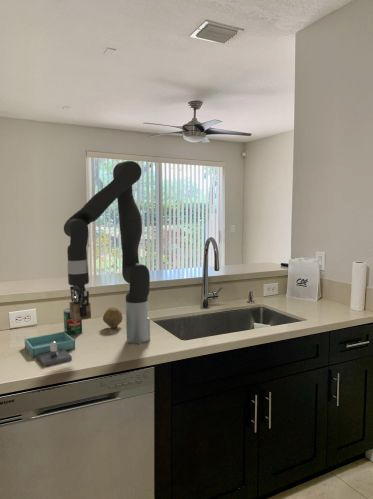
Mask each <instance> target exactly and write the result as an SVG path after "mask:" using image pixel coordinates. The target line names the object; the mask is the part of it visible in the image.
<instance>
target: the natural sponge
mask: <svg viewBox="0 0 373 499" xmlns="http://www.w3.org/2000/svg"><path fill="white" fill-rule="evenodd" d="M102 320H103V322H104V323H105V324H106V325H108V327H110V328H111V329H115V328H117V327H118V326H119V325H120V324H121V323H122V321H123V314H122V312H121V310H120V309H119V308H118V307H115V306H113V307H109V308H107V309H106V311H105V312H104V314H103V317H102Z"/></svg>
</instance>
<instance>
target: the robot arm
mask: <svg viewBox="0 0 373 499" xmlns="http://www.w3.org/2000/svg"><path fill="white" fill-rule="evenodd" d="M112 176H113V177H112V178H113V179H112V180H111V181H110V182H109V183H108V184H106V186H104V187H103V188H102V189H100V190H99V191H97V193H95V194H94V195H93V196H92V197H90V199H88V201H87V202H86V203H85V204H84V205H83V207H82V208H80V209H79V210H78V211H76V212H75V213H74V214H73V215H72V216H70V217H69V218H68V219H67V220H66V221H65V223H64V224H63V232H64V234H65V235H66V236H67V237H69V239H70V240H69V245H68V246H67V248H66V249H67V251H66V252H67V253H66V254H67V281H68V283H67V284H68V285H69V286H70V287H69V289H70V298H71V299H70V300H71V301H70V302H75V301H77V302H79V305H80V316H81V317H86V316H87V313H86V307H87V306H89V302H90V296H89V294H90V291H89V290H86V285H88V284H89V283H90V277H89V276H90V274H89V263H88V252H87V248H88V247H87V246H88V240H89V234H90V232H89V226H88V225H90V224H91V223H93V222H96V221H97V220H98V219H99V218H100V217H101V216H102V215H103V213H104V212H106V211H107V209H108V208H109V206H111V205H112V203H114V202H115V201H116V200H117V209H118V210H117V211H118V222H119V223H118V224H119V234H120V244H121V252H122V253H121V257H122V258H121V259H122V260H121V264H122V266H121V273H122V278H123V280H124V281H125V282H126V283H128V284H129V292H128V293H126V295H125V321H126V322H125V324H126V327H125V328H126V332H125V334H126V335H125V336H126V342H127V343H130V344H134V345H135V344H143V343H146V342H148V341H149V340H151V319H150V317H149V307H148V306H149V303H148V302H149V301H148V299H149V298H148V297H149V294H150V287H151V286H150V280H151V277H150V270H149V268H148V266H146V265H145V264H143V263H140V261H139V260H140V259H139V248H140V242H141V239H142V235H143V234H142V233H143V222H142V216H141V212H140V210H139V208H138V205H137V203H136V200H135V198H134V194H133V193H134V192H133V185H135V184H136V183H137V182H138V181H139V180H140V179H141V177H142V168H141V166H140V164H139V163H138V162H136V161H134V160H125V161H122V162H118V163H117V164H116V165H115V166H114V168H113V171H112Z"/></svg>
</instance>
